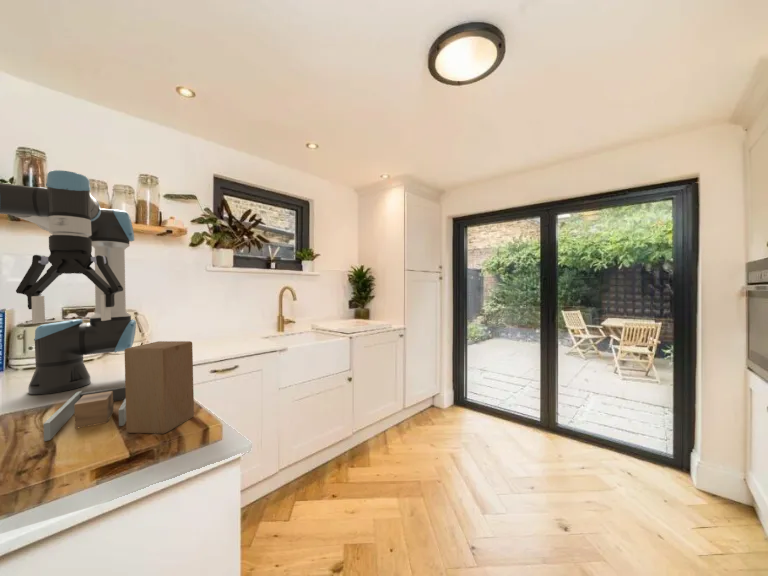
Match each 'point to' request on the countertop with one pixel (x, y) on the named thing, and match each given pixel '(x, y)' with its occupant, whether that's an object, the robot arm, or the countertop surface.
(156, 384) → the wooden block
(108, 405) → the walnut block
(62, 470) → the countertop surface
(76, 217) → the robot arm
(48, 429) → the grey u-shaped frame
